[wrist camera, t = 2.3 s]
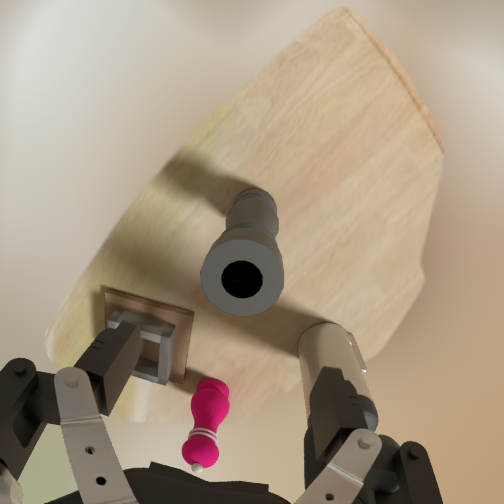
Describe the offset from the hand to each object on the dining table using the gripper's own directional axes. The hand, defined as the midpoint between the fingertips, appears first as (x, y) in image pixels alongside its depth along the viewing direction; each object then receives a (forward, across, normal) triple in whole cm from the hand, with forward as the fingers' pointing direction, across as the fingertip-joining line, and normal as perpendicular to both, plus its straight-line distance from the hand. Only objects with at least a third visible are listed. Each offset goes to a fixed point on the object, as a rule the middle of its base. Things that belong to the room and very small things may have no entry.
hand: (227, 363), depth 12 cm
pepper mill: (+34, 0, +36) cm, 49 cm away
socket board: (+34, +14, +27) cm, 45 cm away
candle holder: (+34, 0, 0) cm, 34 cm away
